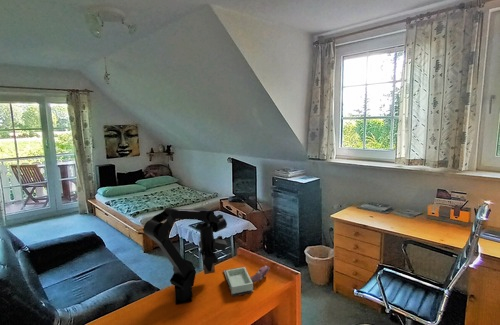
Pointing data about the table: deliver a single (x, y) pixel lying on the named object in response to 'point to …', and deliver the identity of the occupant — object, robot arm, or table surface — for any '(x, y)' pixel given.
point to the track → (240, 292)
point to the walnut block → (207, 270)
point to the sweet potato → (260, 274)
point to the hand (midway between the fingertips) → (208, 268)
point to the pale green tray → (239, 280)
